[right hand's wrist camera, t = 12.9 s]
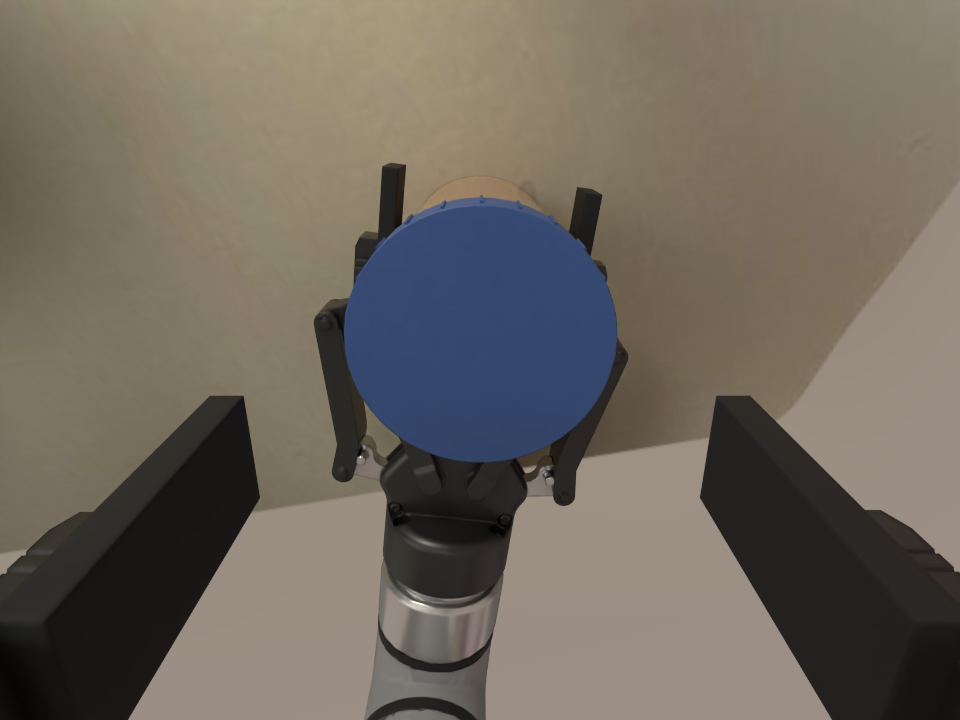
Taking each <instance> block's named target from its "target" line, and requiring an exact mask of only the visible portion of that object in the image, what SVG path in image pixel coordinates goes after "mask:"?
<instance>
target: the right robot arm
mask: <svg viewBox="0 0 960 720" xmlns="http://www.w3.org/2000/svg"><path fill="white" fill-rule="evenodd" d="M259 499H260V495H259V488H258V482H257V476H256V470H255V464H254V457H253V451H252V445H251V439H250V433H249V426H248V420H247V414H246V408H245V402H244V396H209V397H208V398H207V399H206V400H205V401H204V402H203V403H202V404H201V405H200V406H199V407H198V408H197V409H196V410H195V411H194V412H193V413H192V414H191V415H190V416H189V417H188V418H187V419H186V420H185V421H184V422H183V423H182V424H181V425H180V426H179V427H178V428H177V429H176V430H175V431H174V432H173V433H172V434H171V435H170V436H169V437H168V438H167V439H166V440H165V441H164V442H163V443H162V444H161V445H160V446H159V447H158V448H157V449H156V450H155V451H154V452H153V453H152V454H151V455H150V456H149V457H148V458H147V459H146V460H145V461H144V462H143V463H142V464H141V465H140V466H139V467H138V468H137V469H136V470H135V471H134V472H133V473H132V474H131V475H130V476H129V477H128V478H127V479H126V480H125V481H124V482H123V483H122V484H121V485H120V486H119V487H118V488H117V489H116V490H115V491H114V492H113V493H112V494H111V495H110V496H109V497H108V498H107V499H106V500H105V501H104V502H103V503H102V504H101V505H100V506H99V507H98V508H97V509H96V510H95V511H94V512H79V513H77V514H76V515H74V516H72V517H71V518H69V519H67V520H65V521H64V522H62V523H60V524H59V525H57V526H55V527H54V528H52V529H50V530H49V531H48V532H47V533H45V534H44V535H43V536H42V537H41V538H40V539H39V540H38V541H37V542H36V543H35V544H34V545H33V546H32V547H30V548H29V549H28V550H27V551H26V555H25V556H21V557H20V558H19V559H18V560H17V561H16V562H14V563H13V564H12V565H11V566H10V567H9V568H8V569H7V573H6V574H2V575H0V720H128V719H129V717H130V715H131V714H132V712H133V710H134V709H135V707H136V705H137V704H138V702H139V700H140V699H141V697H142V695H143V693H144V692H145V690H146V688H147V687H148V685H149V683H150V682H151V680H152V678H153V677H154V675H155V673H156V672H157V670H158V668H159V667H160V665H161V663H162V662H163V660H164V658H165V656H166V655H167V653H168V651H169V650H170V648H171V646H172V645H173V643H174V641H175V640H176V638H177V636H178V635H179V633H180V631H181V630H182V628H183V626H184V625H185V623H186V621H187V620H188V618H189V616H190V615H191V613H192V611H193V609H194V608H195V606H196V604H197V603H198V601H199V599H200V598H201V596H202V594H203V593H204V591H205V589H206V588H207V586H208V584H209V583H210V581H211V579H212V577H213V576H214V574H215V572H216V571H217V569H218V567H219V566H220V564H221V562H222V561H223V559H224V557H225V556H226V554H227V552H228V551H229V549H230V547H231V546H232V544H233V542H234V540H235V539H236V537H237V536H238V534H239V532H240V530H241V529H242V527H243V525H244V524H245V522H246V520H247V519H248V517H249V515H250V514H251V512H252V510H253V509H254V507H255V505H256V504H257V502H258V500H259ZM700 499H701V500H702V502H703V504H704V505H705V507H706V509H707V510H708V512H709V514H710V515H711V517H712V519H713V520H714V522H715V524H716V525H717V527H718V529H719V530H720V532H721V534H722V535H723V537H724V539H725V541H726V542H727V544H728V546H729V547H730V549H731V551H732V552H733V554H734V556H735V557H736V559H737V561H738V562H739V564H740V566H741V567H742V569H743V571H744V572H745V574H746V576H747V577H748V579H749V581H750V583H751V584H752V586H753V588H754V589H755V591H756V593H757V594H758V596H759V598H760V599H761V601H762V603H763V604H764V606H765V608H766V609H767V611H768V613H769V615H770V616H771V618H772V620H773V621H774V623H775V625H776V626H777V628H778V630H779V631H780V633H781V635H782V636H783V638H784V640H785V641H786V643H787V645H788V646H789V648H790V650H791V651H792V653H793V655H794V656H795V658H796V660H797V662H798V663H799V665H800V667H801V668H802V670H803V672H804V673H805V675H806V677H807V678H808V680H809V682H810V683H811V685H812V687H813V688H814V690H815V692H816V694H817V695H818V697H819V699H820V700H821V702H822V704H823V705H824V707H825V709H826V710H827V712H828V714H829V715H830V717H831V719H832V720H960V573H959V572H955V571H954V567H953V566H952V565H951V564H950V563H949V562H948V561H946V560H945V559H944V558H943V557H942V556H941V555H940V554H935V551H934V548H932V547H931V546H930V545H929V544H928V543H927V542H926V541H925V540H924V539H923V538H922V537H921V536H919V535H918V534H917V533H916V532H915V531H914V530H913V529H912V528H910V527H909V526H907V525H905V524H904V523H902V522H900V521H898V520H897V519H895V518H893V517H892V516H890V515H888V514H886V513H885V512H883V511H881V510H864V509H863V508H862V507H861V506H860V505H859V504H858V503H857V502H856V501H855V500H854V499H853V498H852V497H851V496H850V495H849V494H848V493H847V492H846V491H845V490H844V489H843V488H842V487H841V486H840V485H839V484H838V483H837V482H836V481H835V480H834V479H833V478H832V477H831V476H830V475H829V474H828V473H827V472H826V471H825V470H824V469H823V468H822V467H821V466H820V465H819V464H818V463H817V462H816V461H815V460H814V459H813V458H812V457H811V456H810V455H809V454H808V453H807V452H806V451H805V450H804V449H803V448H802V447H801V446H800V445H799V444H798V443H797V442H796V441H795V440H794V439H793V438H792V437H791V436H790V435H789V434H788V433H787V432H786V431H785V430H784V429H783V428H782V427H781V426H780V425H779V424H778V423H777V422H776V421H775V420H774V419H773V418H772V417H771V416H770V415H769V414H768V413H767V412H766V411H765V410H764V409H763V408H762V407H761V406H760V405H759V404H758V403H757V402H756V401H755V400H754V399H753V398H752V397H751V396H716V402H715V408H714V414H713V420H712V426H711V433H710V439H709V445H708V451H707V457H706V464H705V470H704V476H703V482H702V488H701V495H700Z"/></svg>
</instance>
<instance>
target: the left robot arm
mask: <svg viewBox="0 0 960 720" xmlns="http://www.w3.org/2000/svg"><path fill="white" fill-rule="evenodd" d="M405 172H406V165H403V164H395V163H389V164H387V165H384V166H382V180H381V196H380V213H379V230H378V233H374V232H366V231H365V232H364V233H363V234H362V235H361V236H360V238H359V240H358V242H357V244H356V246H355V267H354V284H355V282H356V280H355V278H356V277H357V275H358V274H359V273H360V272H361V270H362V269H363V267H364V266H365V264H366V263H367V262H368V260H369V259H370V258H371V256H372V255H373V254H374V252H375V251H376V250H377V249H375V247H376V246H377V245H378V244H379V243H380V241H381V240H382V239H383V238H384V237H385V238H387V237H388V236H389V235H390V234H391V233H392V232H393V231H394V230H395V229H396V228H398V227H399V226H400V225H402V212H403V199H404V186H405ZM601 200H602V194H600V193H598V192H596V191H594V190H593V189H587V188H580V187H577V191H576V197H575V202H574V208H573V213H572V219H571V225H570V230H569V233H570V234H571V235H572V236H573V237H574V238H575V239H579V240H580V241H581V242H582V244H583V245H584V246H585V247H586V248H587V250H586V252H587V253H588V255H589V256H591V251H592V246H593V241H594V235H595V230H596V225H597V220H598V215H599V210H600V205H601ZM593 261H594V263H595V264H596V266H597V267H598V269H599V270H600V272H601V273H602V274H603V276H604V277H605V278H606V280H607V273H606V268H605V266H604V265H603V264H602V263H601V261H597V260H593ZM348 301H349V298H346V299H342V300H339V299H333V300H330V301H329V302H328V303H327V304H326V305H325V306H324V308H323V309H322V310H321V311H320V312H319V313H318V314H317V316H316V317H315V319H314V327H315V333H316V338H317V343H318V348H319V353H320V358H321V363H322V369H323V374H324V379H325V384H326V389H327V394H328V399H329V405H330V410H331V415H332V420H333V425H334V430H335V435H336V441H337V449H336V454H335V458H334V463H333V468H332V475H333V477H334V478H335V479H336V480H337V481H340V482H347V481H349V480H351V479H352V477H353V475H358V476H362V477H367V478H371V479H375V480H380V484H381V487H382V488H383V490H384V492H385V494H386V498H387V508H386V521H385V533H384V546H383V557H384V559H383V563H382V569H381V583H380V597H379V614H378V633H377V642H376V651H375V659H374V668H373V675H372V681H371V687H370V692H369V697H368V702H367V707H366V712H365V717H364V720H486V718H485V688H486V675H487V668H488V660H489V653H490V645H491V639H492V636H493V631H494V626H495V623H496V617H497V612H498V606H499V600H500V595H501V589H502V583H503V571H504V569H505V565H506V559H507V554H508V548H509V542H510V537H511V531H512V525H513V520H514V515H515V512H516V510H517V509H518V507H519V506H520V505H521V504H522V503H523V502H524V500H525V499H526V497H527V496H553V497H554V501H555V502H556V503H557V504H559V505H562V506H566V505H569V504H571V503H572V502H573V501H574V498H575V485H576V470H577V468H578V466H579V464H580V462H581V460H582V458H583V455H584V453H585V451H586V449H587V447H588V445H589V443H590V440H591V438H592V436H593V434H594V432H595V430H596V428H597V425H598V423H599V421H600V419H601V417H602V415H603V413H604V410H605V408H606V406H607V404H608V402H609V400H610V398H611V395H612V393H613V391H614V389H615V387H616V385H617V383H618V381H619V378H620V376H621V374H622V372H623V370H624V368H625V366H626V363H627V361H628V353H627V352H626V350H625V349H624V347H623V345H622V344H621V342H620V341H619V339H618V338H617V345H616V353H615V359H614V363H613V366H612V370H611V373H610V376H609V378H608V381H607V383H606V386H605V388H604V390H603V391H602V393H601V395H600V397H599V398H598V400H597V402H596V403H595V404H594V406H593V407H592V408H591V410H590V411H589V412H588V414H587V415H586V416H585V417H584V418H583V419H582V420H581V421H580V422H579V423H578V424H577V425H576V426H575V427H574V428H573V429H572V430H570V431H569V432H568V433H567V434H565V435H564V436H563V437H561V438H560V439H558V440H557V441H555V442H553V443H552V444H551V448H550V455H549V456H547V455H545V456H543V457H542V458H541V460H539V462H538V464H537V467H536V468H535V470H534V471H532V472H530V473H525V472H524V470H523V469H522V467H521V465H520V464H519V462H518V460H517V459H516V458H514V459H509V460H504V461H496V462H465V461H458V460H452V459H448V458H444V457H440V456H436V455H434V454H431V453H428V452H426V451H423V450H421V449H419V448H417V447H415V446H413V445H411V444H409V443H408V442H406V441H405V440H403V439H402V438H400V437H399V438H400V441H401V443H400V444H399V445H398V446H397V447H396V448H395V449H394V450H393V451H392V452H391V453H390V454H389V455H388V456H387V457H386V458H384V457H382V456H380V455H379V454H378V452H377V450H376V443H375V441H374V440H373V438H372V437H371V436H365V435H366V429H367V421H366V413H365V407H364V401H363V398H362V397H361V395H360V393H359V391H358V389H357V387H356V385H355V383H354V381H353V378H352V375H351V372H350V369H349V366H348V362H347V357H346V352H345V341H344V326H345V315H346V314H345V313H346V310H347V306H348Z"/></svg>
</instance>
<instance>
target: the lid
mask: <svg viewBox="0 0 960 720" xmlns="http://www.w3.org/2000/svg"><path fill="white" fill-rule="evenodd" d="M375 249H377V250H376V251H375V252H374V254H373V255H372V256H371V258H370V259H369V260H368V262H367V263H366V264H365V266H364V267H363V269H362V270H361V272H360V273H359V274H358V275H357V277H356V278H355V280H356V282H355V284H354V287H353V290H352V292H351V295H350V298H349V301H348V306H347V310H346V313H345V314H346V315H345V326H344V341H345V352H346V357H347V362H348V366H349V369H350V372H351V375H352V378H353V381H354V383H355V385H356V387H357V389H358V391H359V393H360V395H361V397H362V398H363V400H364V401H365V403H366V404H367V405H368V407H369V408H370V410H371V411H372V412H373V413H374V414H375V416H376V417H377V418H378V419H379V420H380V421H381V422H382V423H383V424H384V425H385V426H386V427H387V428H389V429H390V430H391V431H392V432H393V433H394V434H396V435H397V436H399V437H400V438H402V439H403V440H405V441H406V442H408V443H409V444H411V445H413V446H415V447H417V448H419V449H421V450H423V451H426V452H428V453H431V454H434V455H436V456H440V457H444V458H448V459H452V460H458V461H465V462H496V461H504V460H509V459H514V458H518V457H521V456H524V455H527V454H530V453H533V452H536V451H538V450H540V449H542V448H544V447H546V446H548V445H550V444H552V443H553V442H555V441H557V440H558V439H560V438H561V437H563V436H564V435H565V434H567V433H568V432H569V431H570V430H572V429H573V428H574V427H575V426H576V425H577V424H578V423H579V422H580V421H581V420H582V419H583V418H584V417H585V416H586V415H587V414H588V412H589V411H590V410H591V408H592V407H593V406H594V404H595V403H596V402H597V400H598V398H599V397H600V395H601V393H602V391H603V390H604V388H605V386H606V383H607V381H608V378H609V376H610V373H611V370H612V366H613V363H614V359H615V353H616V345H617V321H616V313H615V308H614V304H613V301H612V297H611V294H610V291H609V288H608V286H607V284H606V281H607V280H606V278H605V277H604V276H603V274H602V273H601V272H600V270H599V269H598V267H597V266H596V264H595V263H594V261H593V260H592V258H591V257H590V256H589V255H588V253H587V252H586V250H587V248H586V247H585V246H584V245H583V244H582V242H581V241H580V240H579V239H575V238H574V237H573V236H572V235H571V234H570V233H569V232H568V231H567V230H566V229H564V228H563V227H562V226H561V225H560V224H559V223H558V222H557V221H556V220H555V219H554V217H553V216H551V215H550V216H549V217H548V216H547V215H545V214H543V213H542V212H540V211H537V210H535V209H533V208H531V207H529V206H526V205H523V204H521V202H520V201H519V200H517V201H516V202H513V201H510V200H504V199H498V198H485V197H483V195H480V197H473V198H464V199H456V200H452V201H448V202H446V200H443V202H442V203H441V204H438V205H436V206H433V207H430V208H428V209H425V210H423V211H422V212H420V213H418V214H416V215H415V216H413V215H412V214H411V215H410V216H409V217H408V218H407V220H406V221H405V222H404V223H403V224H402V225H400V226H399V227H398V228H396V229H395V230H394V231H393V232H392V233H391V234H390V235H389V236H388V237H387V238H385V237H384V238H383V239H382V240H381V241H380V243H379V244H378V245H377V246H376V247H375Z"/></svg>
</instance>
